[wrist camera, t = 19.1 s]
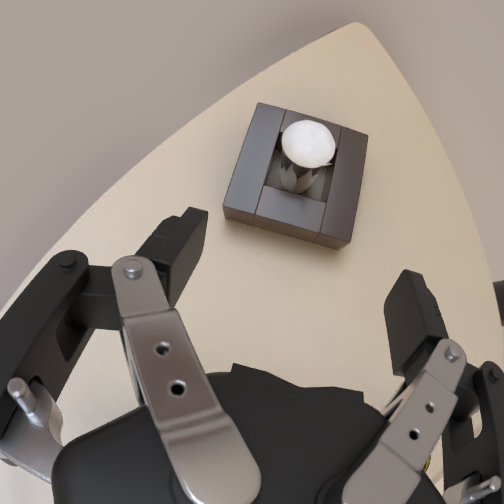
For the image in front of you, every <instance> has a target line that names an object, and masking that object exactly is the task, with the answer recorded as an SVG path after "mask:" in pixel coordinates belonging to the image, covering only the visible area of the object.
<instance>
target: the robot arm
mask: <svg viewBox="0 0 504 504" xmlns="http://www.w3.org/2000/svg"><path fill="white" fill-rule="evenodd" d="M207 221H208V211H204V210H201V209H197V208H193V207H188V209H187V210H186V211H185V212H184V214H183V215H182V216H181V217H177V216H174V215H173V216H171V217H169V218H167V219H165V220H163V221H162V222H161V223H160V224H159V226H158V227H157V229H155V230H154V232H153V233H152V235H150V236H149V238H148V239H147V240H146V241H145V242H144V244H143V245H142V246H141V247H140V249H139V250H138V251H137V252H136V254H135V255H130V256H125V257H122V258H120V259H118V260H117V261H116V262H115V263H114V264H113V266H111V267H107V266H93V265H89V263H88V258H87V256H86V255H85V254H84V253H82V252H80V251H76V250H66V251H62V252H60V253H58V254H56V255H54V256H53V257H52V258H51V259H50V260H49V261H48V263H47V264H46V265H45V266H44V267H43V268H42V269H41V270H40V272H39V273H38V274H37V275H36V276H35V277H34V279H33V280H32V281H31V282H30V283H29V284H28V286H27V287H26V288H25V289H24V291H23V292H22V293H21V294H20V295H19V297H18V298H17V299H16V300H15V302H14V303H13V304H12V305H11V307H10V308H9V309H8V311H7V312H6V313H5V314H4V316H3V317H2V318H1V320H0V459H1V460H2V461H4V462H5V463H7V464H9V465H11V466H19V467H21V468H23V469H24V470H26V471H28V472H29V473H31V474H33V475H35V476H36V477H38V478H40V479H42V480H43V481H45V482H47V483H49V484H51V485H52V491H53V497H54V504H504V373H503V371H502V370H501V369H500V367H499V366H498V365H497V364H495V363H494V362H491V361H486V362H484V363H483V364H482V365H481V366H480V367H479V368H477V367H475V366H473V365H471V364H469V363H467V358H466V354H465V352H464V350H463V349H462V348H461V346H460V345H459V344H457V343H456V342H455V341H453V340H451V339H449V337H448V334H447V331H446V327H445V324H444V321H443V318H442V317H441V313H440V310H439V309H438V308H439V307H438V304H437V301H436V298H435V297H434V296H433V294H432V293H431V291H430V290H429V289H428V288H427V286H426V284H425V281H424V278H423V276H422V274H419V273H416V272H413V271H410V270H407V269H405V270H403V271H402V273H401V274H400V276H399V278H398V279H397V281H396V283H395V284H394V286H393V288H392V290H391V291H390V293H389V295H388V296H387V298H386V301H385V304H384V316H385V321H386V327H387V333H388V340H389V346H390V353H391V360H392V368H393V375H396V376H402V377H405V381H404V382H403V383H402V384H401V385H400V386H399V387H398V389H397V390H396V392H395V393H394V394H393V396H392V397H391V398H390V400H389V401H388V402H387V404H386V405H385V406H384V407H383V409H382V410H381V411H380V412H379V411H378V410H376V409H375V408H373V407H372V406H370V405H368V404H366V403H364V395H363V392H361V391H355V390H349V389H344V388H338V387H309V388H303V387H298V386H296V385H294V384H292V383H289V382H287V381H285V380H283V379H281V378H279V377H277V376H275V375H273V374H271V373H268V372H266V371H262V370H258V369H254V368H250V367H247V366H243V365H239V364H236V363H233V366H232V369H231V372H214V373H208V374H205V372H204V369H203V367H202V365H201V363H200V361H199V358H198V356H197V354H196V352H195V350H194V347H193V345H192V343H191V340H190V338H189V336H188V333H187V331H186V329H185V326H184V324H183V322H182V319H181V317H180V315H179V312H178V311H177V309H176V308H174V307H175V305H176V303H177V301H178V299H179V297H180V295H181V293H182V291H183V289H184V288H185V286H186V284H187V282H188V280H189V278H190V276H191V274H192V273H193V271H194V269H195V267H196V265H197V263H198V261H199V259H200V257H201V254H202V251H203V246H204V240H205V234H206V227H207ZM95 329H106V330H117V331H119V334H120V338H121V342H122V346H123V350H124V354H125V358H126V362H127V365H128V369H129V373H130V377H131V381H132V385H133V389H134V392H135V396H136V399H137V402H138V405H139V407H138V408H136V409H134V410H132V411H130V412H128V413H126V414H124V415H122V416H120V417H118V418H117V419H115V420H113V421H110V422H108V423H106V424H104V425H102V426H100V427H98V428H96V429H94V430H92V431H90V432H88V433H86V434H84V435H81V436H79V437H77V438H75V439H73V440H72V441H70V442H69V443H68V444H67V445H65V446H64V447H63V446H62V443H61V438H60V433H61V428H62V424H63V417H62V413H61V411H60V409H59V408H58V406H57V404H56V401H57V399H58V397H59V395H60V393H61V391H62V389H63V387H64V385H65V384H66V382H67V380H68V378H69V376H70V374H71V372H72V370H73V368H74V366H75V365H76V363H77V361H78V359H79V357H80V355H81V354H82V352H83V350H84V348H85V346H86V345H87V343H88V341H89V339H90V337H91V336H92V334H93V332H94V331H95ZM479 410H480V413H481V418H482V430H481V433H480V434H479V436H478V437H476V438H475V439H474V433H473V425H472V419H471V416H472V415H474V414H475V413H476V412H477V411H479ZM441 434H442V448H443V471H444V493H443V495H442V496H441V494H440V493H439V491H438V490H437V489H436V487H435V486H434V484H433V483H432V482H431V480H430V479H429V477H428V476H427V474H426V473H425V472H424V470H423V469H422V468H423V467H424V465H425V463H426V462H427V460H428V458H429V456H430V455H431V453H432V451H433V449H434V447H435V446H436V444H437V442H438V440H439V438H440V436H441Z"/></svg>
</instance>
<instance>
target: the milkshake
mask: <svg viewBox="0 0 504 504" xmlns="http://www.w3.org/2000/svg"><path fill="white" fill-rule="evenodd" d="M334 152H335V141H334V139H333V136H332V134H331V133H330V131H329V130H328V129H327V128H326V127H325V126H324V125H323V124H321V123H318V122H314V121H311V120H302V121H298V122H295V123H293V124H291V125H290V126H289V127H288V128H287V129H286V130H285V131H284V133H283V135H282V158H281V170H280V181H281V183H282V186H283V188H284V189H286V190H288V191H289V192H291V193H302V192H303V191H304V190H306V189H307V188H308V187H309V186H310V185H311V184H312V182H313V181H314V180H315V178H316V177H317V176H318V174H319V173H320V172H321V170H322V169H323V168H324V167H325V166H326V165H330V164H327V163H328V162H329V161H330V160H331V159H332V157H333V155H334ZM331 164H332V163H331Z"/></svg>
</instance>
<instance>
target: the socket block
mask: <svg viewBox="0 0 504 504" xmlns="http://www.w3.org/2000/svg"><path fill="white" fill-rule="evenodd" d="M302 120H311V121H314V122H318V123H321V124H323V125H324V126H325V127H326V128H327V129H328V130H329V131H330V133H331V134H332V136H333V139H334V141H335V152H334V155H333V157H332V159H331V160H330V161H329V162H328V163H327V164H330V165H328V170H327V174H326V179H325V183H324V188H323V193H322V197H321V201H317V200H314V199H311V198H307V197H304V196H301V195H297V194H294V193H290V192H287V191H283V190H280V189H276V188H273V187H269V186H266V181H267V178H268V175H269V171H270V168H271V164H272V161H273V158H274V154H275V151H276V150H277V151H281V152H282V135H283V133H284V131H285V130H286V129H287V128H288V127H289V126H290V125H291V124H293V123H295V122H298V121H302ZM367 143H368V135H366V134H363V133H361V132H358V131H355V130H352V129H349V128H346V127H343V126H340V125H337V124H334V123H331V122H328V121H325V120H322V119H318V118H315V117H312V116H308V115H305V114H301V113H298V112H294V111H290V110H286V109H283V108H279V107H275V106H271V105H267V104H263V103H258V104H257V107H256V109H255V112H254V115H253V118H252V120H251V123H250V126H249V129H248V132H247V135H246V137H245V140H244V143H243V146H242V149H241V152H240V155H239V158H238V161H237V163H236V166H235V169H234V172H233V175H232V178H231V181H230V184H229V187H228V190H227V193H226V196H225V199H224V202H223V211H224V216H225V218H226V219H230V220H233V221H237V222H241V223H244V224H248V225H251V226H255V227H258V228H262V229H266V230H269V231H273V232H276V233H280V234H283V235H287V236H290V237H294V238H297V239H300V240H304V241H307V242H312V243H315V244H318V245H321V246H325V247H328V248H332V249H335V250H339V249H341V248H342V247H344V246H346V245H347V244H349V243H350V241H351V237H352V232H353V227H354V221H355V216H356V211H357V205H358V200H359V194H360V188H361V182H362V176H363V170H364V163H365V157H366V150H367ZM331 163H332V164H331Z"/></svg>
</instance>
